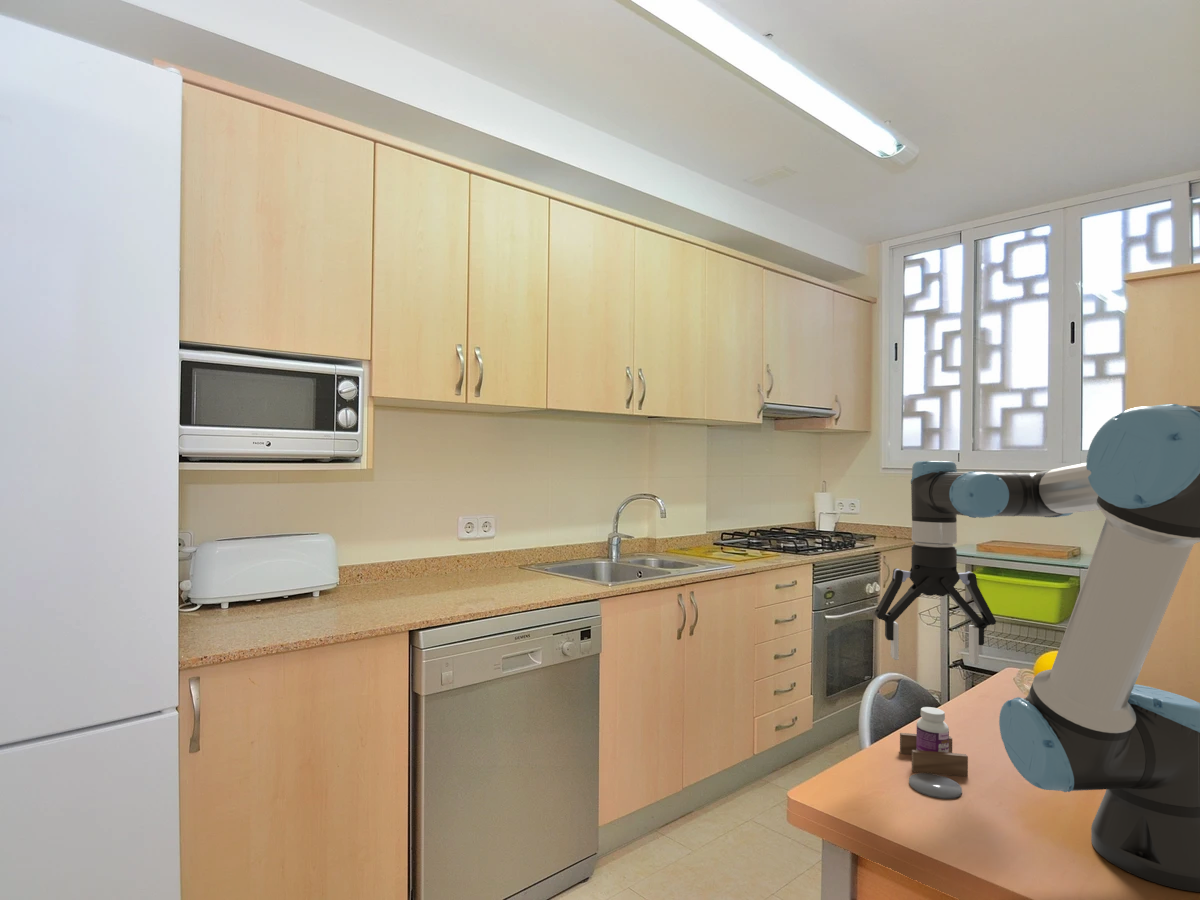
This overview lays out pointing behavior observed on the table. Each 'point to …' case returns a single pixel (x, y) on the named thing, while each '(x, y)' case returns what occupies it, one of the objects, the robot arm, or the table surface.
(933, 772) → the rail cradle
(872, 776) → the table surface
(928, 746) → the pill bottle
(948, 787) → the coaster
